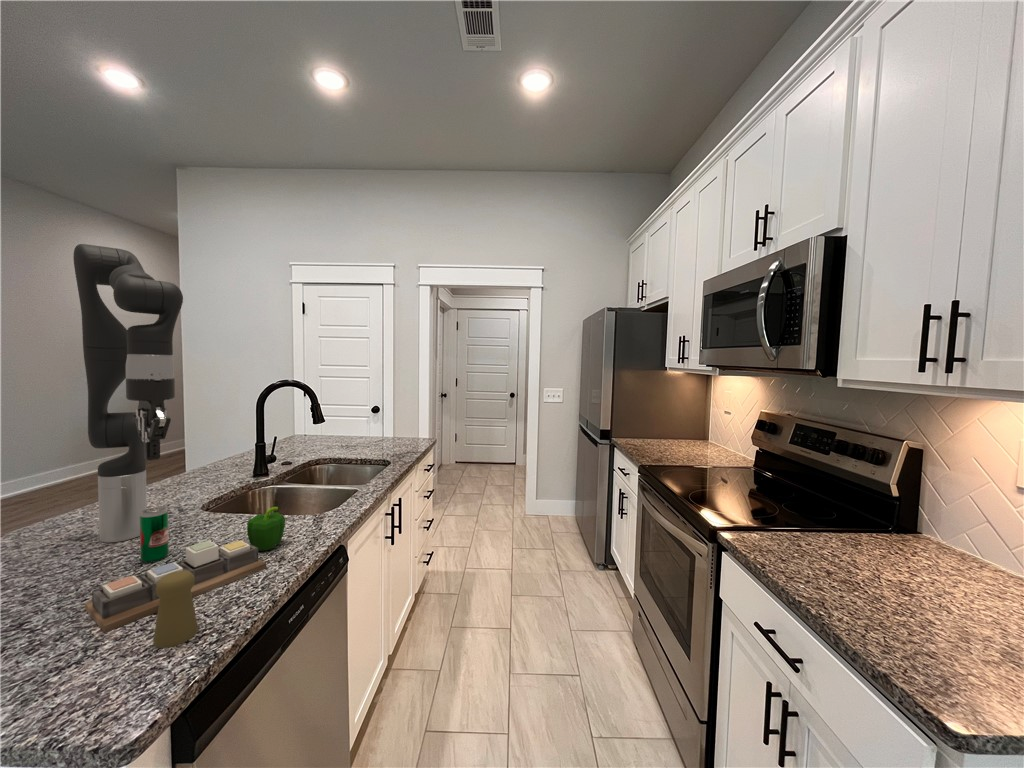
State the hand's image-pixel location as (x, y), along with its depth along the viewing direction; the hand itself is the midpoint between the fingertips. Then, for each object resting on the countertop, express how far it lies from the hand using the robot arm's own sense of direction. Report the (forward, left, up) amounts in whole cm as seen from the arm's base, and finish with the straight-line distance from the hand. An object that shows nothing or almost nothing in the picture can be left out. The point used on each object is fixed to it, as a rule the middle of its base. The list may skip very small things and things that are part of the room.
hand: (152, 459), depth 84 cm
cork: (+23, -4, -27) cm, 36 cm away
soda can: (-14, +4, -27) cm, 31 cm away
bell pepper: (+1, +22, -27) cm, 35 cm away
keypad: (+6, +3, -27) cm, 28 cm away
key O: (+6, -6, -25) cm, 26 cm away
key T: (+6, 0, -25) cm, 26 cm away
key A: (+6, +6, -23) cm, 24 cm away
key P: (+6, +13, -25) cm, 29 cm away
